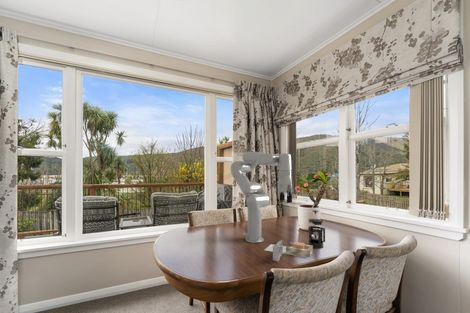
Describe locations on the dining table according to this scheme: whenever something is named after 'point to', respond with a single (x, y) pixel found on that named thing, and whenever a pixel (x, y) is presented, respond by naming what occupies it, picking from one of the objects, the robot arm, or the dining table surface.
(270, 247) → the mat
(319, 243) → the french press
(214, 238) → the dining table surface
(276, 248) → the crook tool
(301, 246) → the block
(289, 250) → the frame
